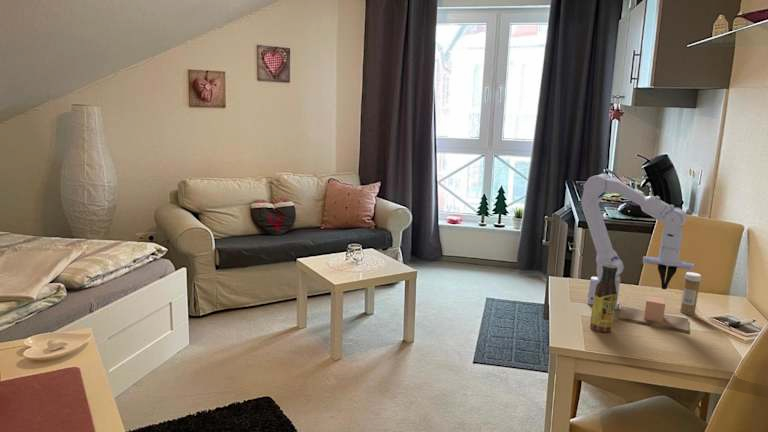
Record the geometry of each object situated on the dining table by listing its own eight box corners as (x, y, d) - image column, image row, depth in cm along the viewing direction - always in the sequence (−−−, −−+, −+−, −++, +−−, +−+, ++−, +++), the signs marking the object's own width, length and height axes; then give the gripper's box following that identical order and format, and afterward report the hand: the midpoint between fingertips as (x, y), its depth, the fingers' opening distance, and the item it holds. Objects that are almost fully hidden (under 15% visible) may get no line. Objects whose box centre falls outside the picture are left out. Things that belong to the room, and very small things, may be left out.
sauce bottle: (601, 334, 174) (609, 270, 170) (585, 326, 180) (593, 263, 176) (616, 331, 177) (625, 267, 173) (600, 323, 183) (608, 261, 179)
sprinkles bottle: (697, 313, 195) (704, 274, 193) (690, 316, 193) (696, 276, 190) (684, 309, 199) (690, 270, 196) (676, 311, 197) (683, 272, 194)
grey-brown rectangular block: (618, 319, 187) (620, 301, 186) (620, 308, 197) (623, 291, 196) (688, 332, 179) (691, 314, 178) (687, 320, 189) (690, 303, 187)
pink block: (643, 318, 186) (646, 300, 185) (644, 313, 191) (647, 295, 190) (662, 322, 184) (665, 304, 183) (662, 316, 189) (665, 299, 188)
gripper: (644, 246, 185) (638, 287, 188) (696, 253, 178) (689, 296, 181) (645, 241, 191) (640, 281, 194) (696, 248, 185) (689, 289, 188)
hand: (664, 288), depth 188 cm, fingers closed
